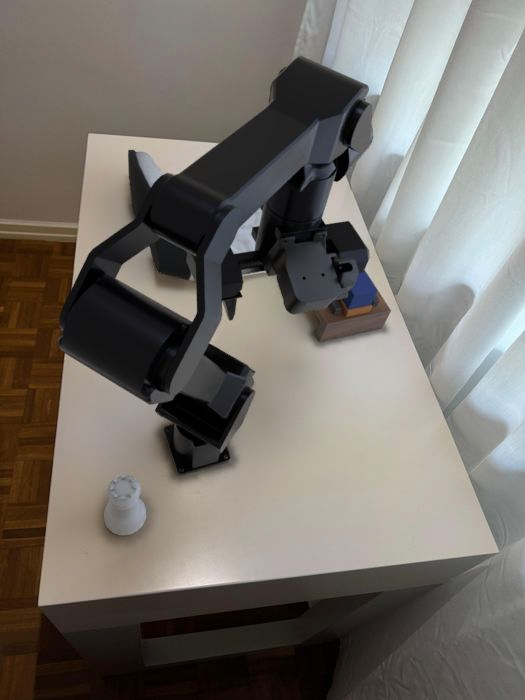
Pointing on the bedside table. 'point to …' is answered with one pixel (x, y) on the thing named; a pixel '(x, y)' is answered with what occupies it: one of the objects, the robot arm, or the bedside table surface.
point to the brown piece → (350, 319)
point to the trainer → (359, 296)
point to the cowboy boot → (163, 251)
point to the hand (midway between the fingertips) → (266, 310)
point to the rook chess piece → (124, 506)
